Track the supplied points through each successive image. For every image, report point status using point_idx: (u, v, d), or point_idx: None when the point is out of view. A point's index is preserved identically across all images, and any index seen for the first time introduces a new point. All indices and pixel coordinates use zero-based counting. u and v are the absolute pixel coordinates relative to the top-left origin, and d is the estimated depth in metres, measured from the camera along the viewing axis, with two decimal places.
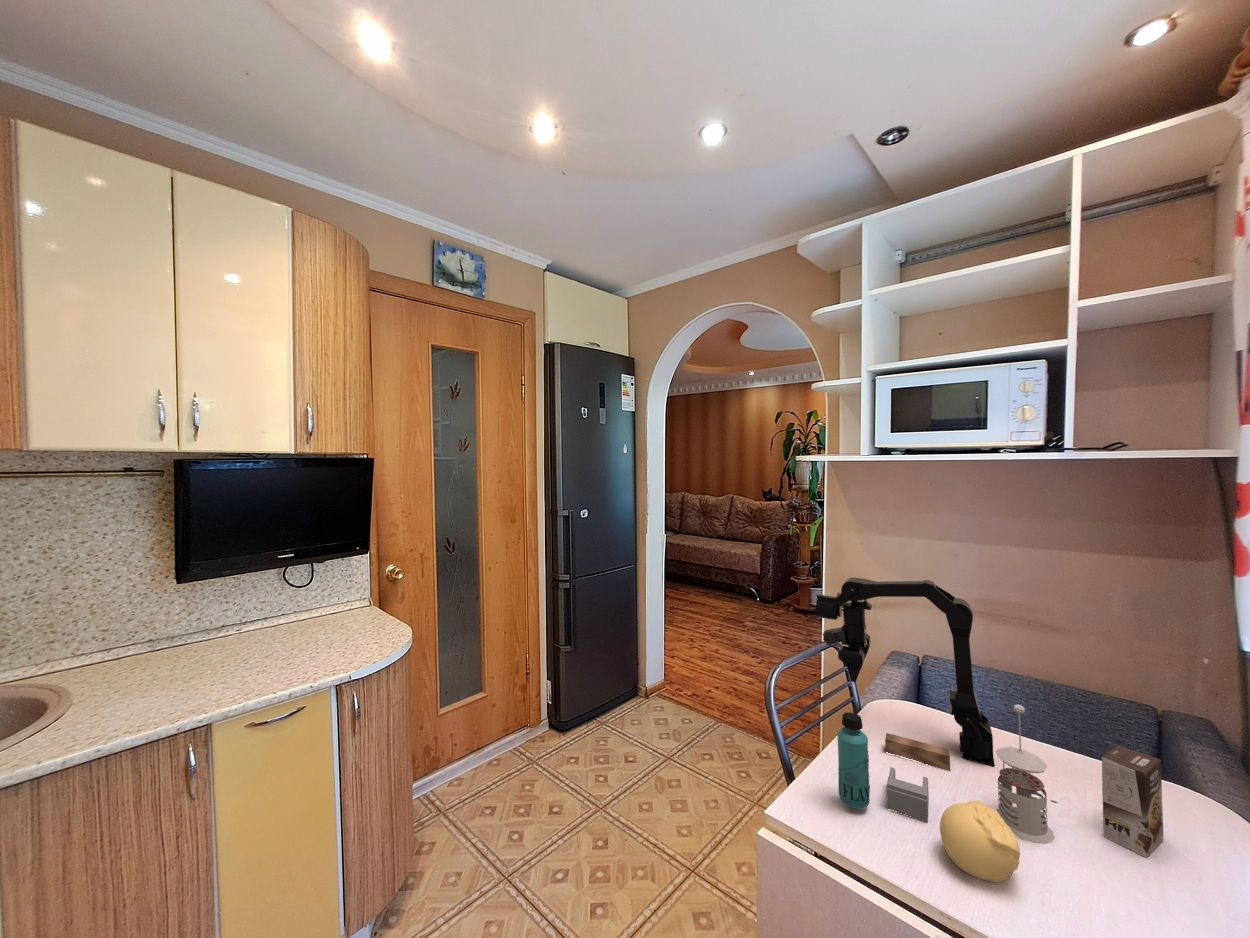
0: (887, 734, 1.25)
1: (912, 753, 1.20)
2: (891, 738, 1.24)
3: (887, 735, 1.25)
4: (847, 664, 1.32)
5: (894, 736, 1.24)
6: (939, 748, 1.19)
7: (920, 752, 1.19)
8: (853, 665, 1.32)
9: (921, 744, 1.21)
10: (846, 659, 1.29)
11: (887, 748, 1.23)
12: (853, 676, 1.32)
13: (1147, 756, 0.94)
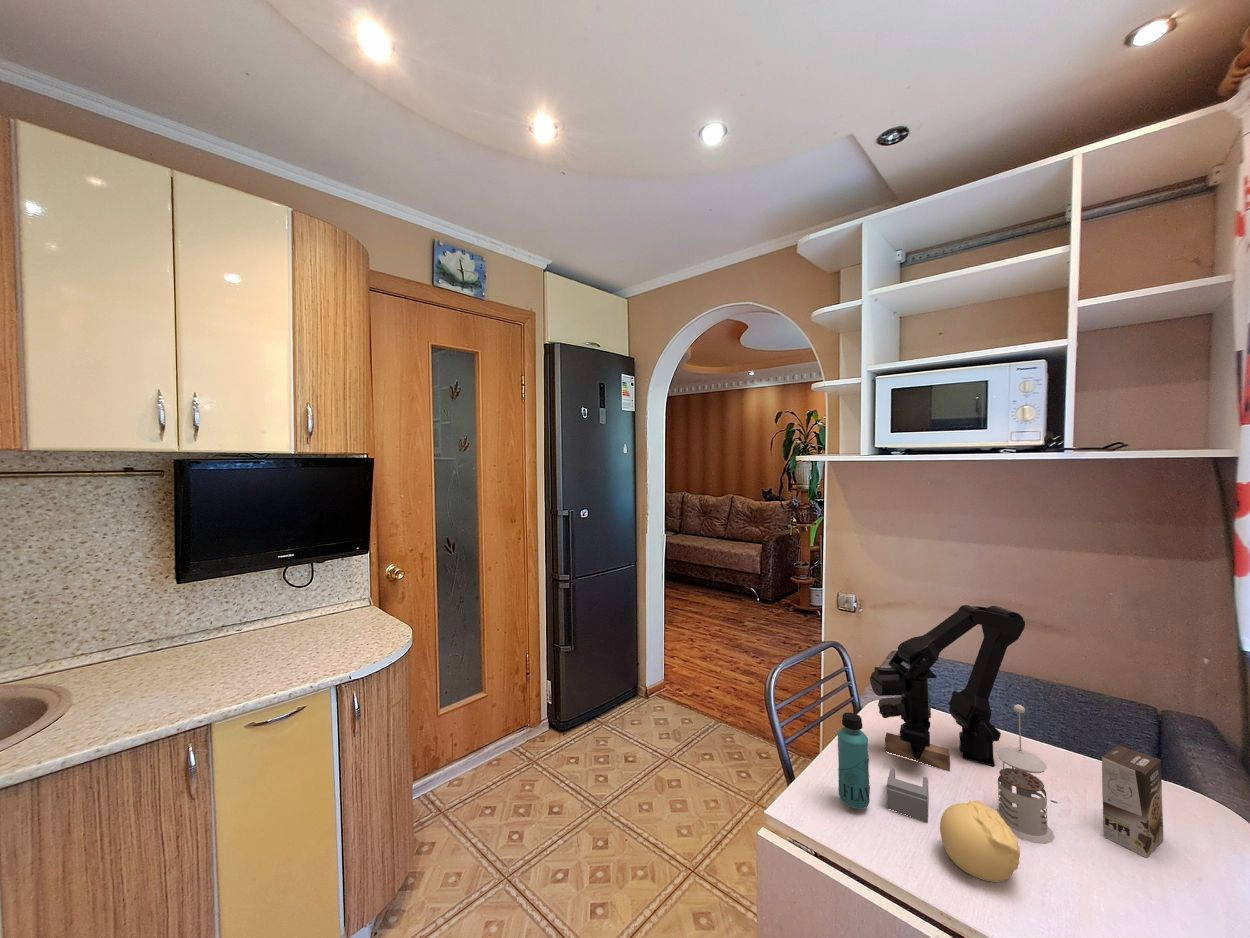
0: (887, 733, 1.25)
1: (911, 752, 1.20)
2: (891, 737, 1.24)
3: (887, 734, 1.25)
4: None
5: (894, 735, 1.24)
6: (939, 748, 1.18)
7: None
8: None
9: None
10: (910, 740, 1.14)
11: (887, 747, 1.23)
12: (917, 752, 1.18)
13: (1147, 757, 0.94)
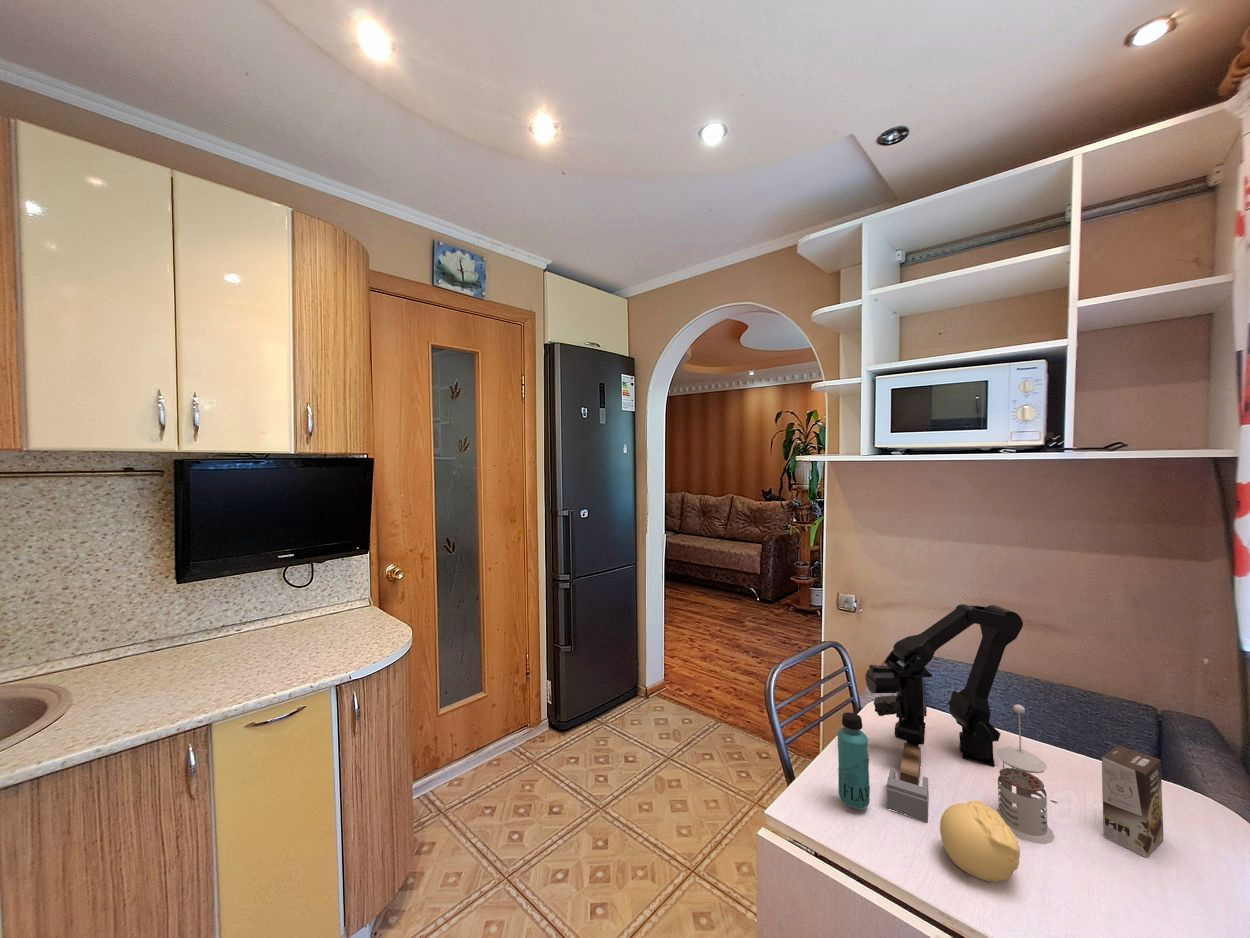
0: (917, 746, 1.19)
1: None
2: (910, 747, 1.19)
3: (914, 745, 1.19)
4: None
5: (916, 749, 1.18)
6: (912, 770, 1.10)
7: None
8: None
9: (912, 761, 1.13)
10: (904, 738, 1.14)
11: None
12: None
13: (1147, 756, 0.94)
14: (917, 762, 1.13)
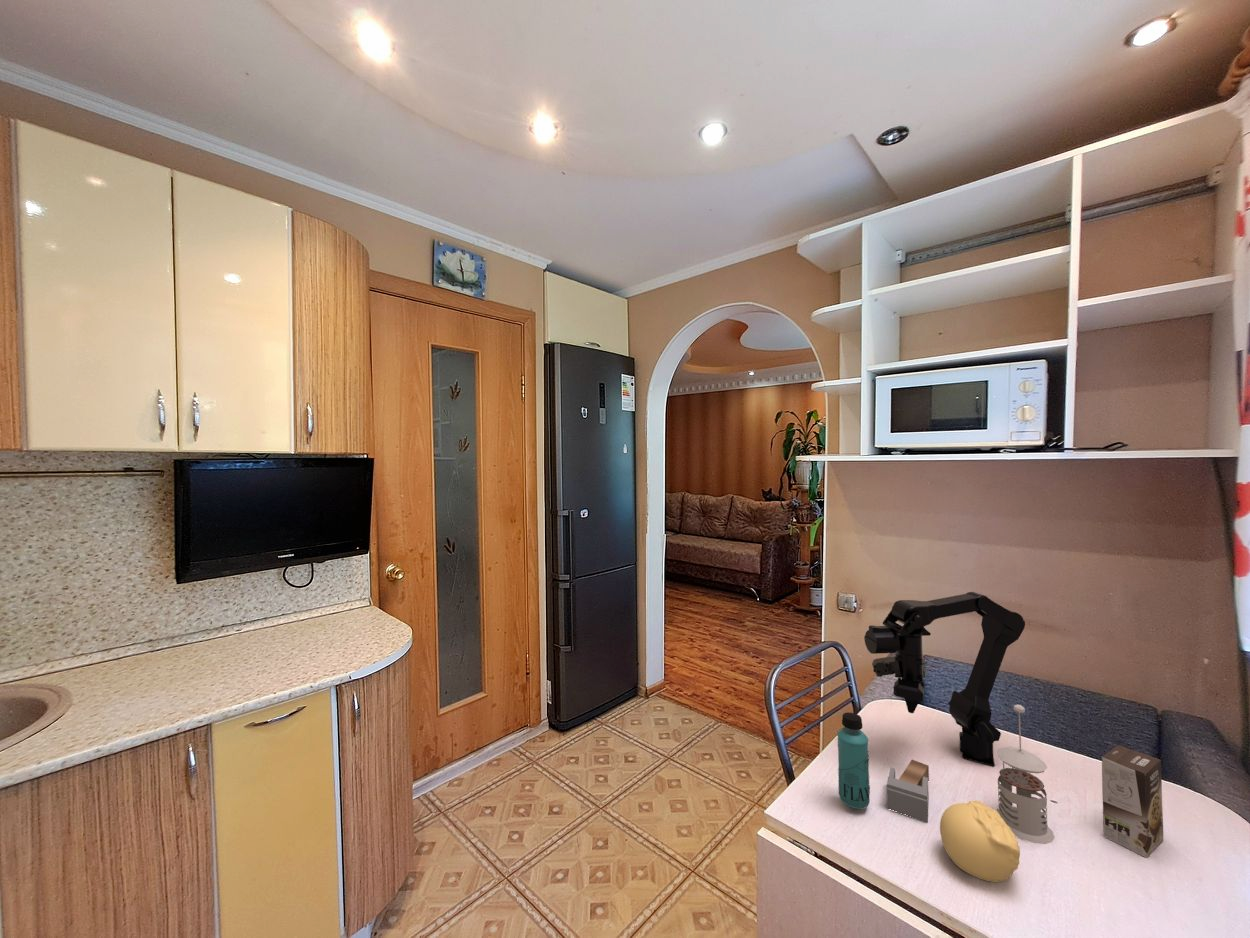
0: (924, 764, 1.12)
1: None
2: (917, 764, 1.12)
3: (922, 764, 1.13)
4: None
5: (922, 767, 1.11)
6: None
7: None
8: None
9: (912, 778, 1.07)
10: (903, 696, 1.13)
11: None
12: (911, 707, 1.20)
13: (1147, 756, 0.94)
14: (917, 780, 1.07)
